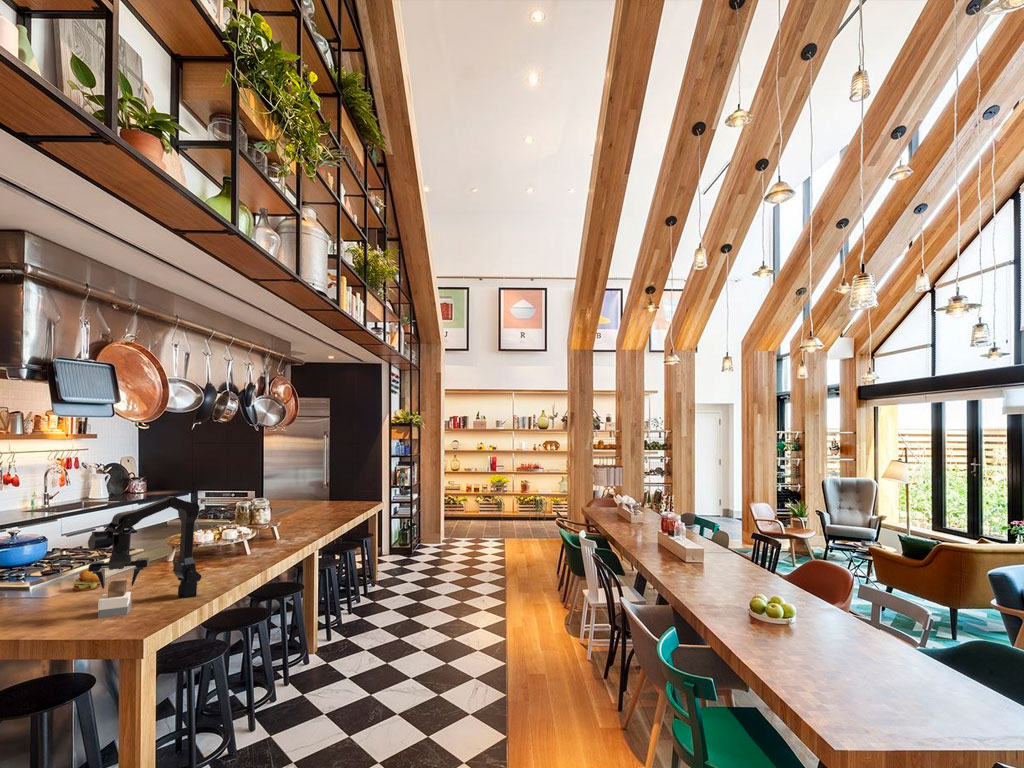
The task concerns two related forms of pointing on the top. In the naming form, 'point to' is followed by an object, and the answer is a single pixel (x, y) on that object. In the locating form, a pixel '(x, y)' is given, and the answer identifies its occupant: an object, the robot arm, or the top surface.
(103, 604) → the tower top slab
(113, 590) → the walnut block
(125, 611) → the tower base slab
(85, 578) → the cheeseburger
